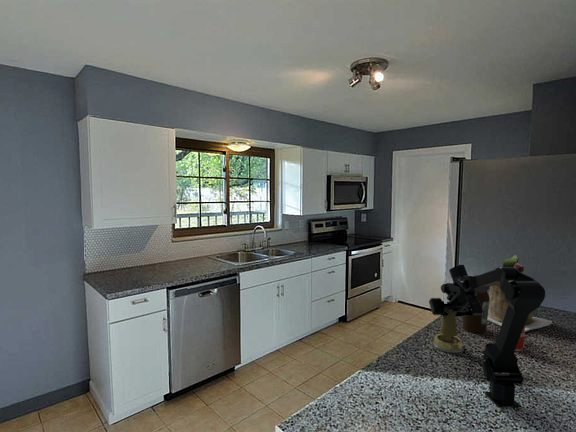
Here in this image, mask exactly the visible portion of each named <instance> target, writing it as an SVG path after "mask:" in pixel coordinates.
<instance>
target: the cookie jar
mask: <svg viewBox="0 0 576 432" xmlns="http://www.w3.org/2000/svg"><path fill="white" fill-rule="evenodd" d="M519 260H520V259H519V257H518V256H517V255H516V254H515V255H513V256H512V257H510V258H505V259H504V260H503V262H502V267H513V268H516V269H517V270H518V271H519V272H521V273H523V272H524V271H525V267H524V265H523V264H520V263H519ZM508 282H511V281H508ZM489 288H490V289H489V290H488V291H489V292H488V294H489V298H490V301H489V309H488V319H487V322H489V321H490V322H489V323H491V322H492V323H491V324H494V323H495V324H494V325H497V326H499V327H501V325H502V322H503V319H504V317H505V314H506V311H507V308H508V304H507V301H506V299H505V297H504V296H505V293H504V292H503V291H502V290H501V289H500V284H497V285H494V286H490V287H489ZM536 312H537V309H536V310H534V311H533V312H531V313H530V314H529V315H528V318H527V320H526V323H525V332H529V331H531V330H536V329H537V330H538V329H540V328H541V329H542V328H545V327H549V326H551V325H552V322H553V321H552V320H549V319H546V318H545V319H544V318H540V317H539V318H538V317H535V316H534V313H536Z"/></svg>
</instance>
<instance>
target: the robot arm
mask: <svg viewBox="0 0 576 432" xmlns="http://www.w3.org/2000/svg"><path fill="white" fill-rule="evenodd" d="M448 271H449V274H450V277H451V280H452V282H447V283H442V285H441V286H440V291H441V293H443V294H446V295H447V296H446V300H447V301H446V303H445V301H444V300H443V299H442V298H441V297H431V298H429V300H428V304H429V308H430V310H431V313H432V315H434V316H440V317H441V318H443V317H444V316H448V313H447V312H448V311H449V310H452V311H453V312H457V314H456V315H455V318H459V317H460V318H462V317H463V316H472V314H473V315H481V314H482V313H483V308H482V306H481V303H480V301H479V300H478V298H477V292H482V293H484V292H486V291H487V292H488V291H490V286H494V285H497V284H500V289H501V290H502V291H503V292H504V293H505V296H504V297H505V299H506V301H507V304H508V308H507V311H506V314H505V317H504V319H503V322H502V325H501V326H500V329H499V330H498V334H497V337H496V340H495V342H494V343H491V342H488V343H487V342H486V344H485V346H484V350H483V351H482V354H483V355H482V359H481V362H482V363H481V364H482V370H483V375H484V377H485V380H486V381H487V382H489V391H485V392H484V395H486V397H487V398H489V400H491V401H492V402H493V403H494V404H495V405H496V406H497V407H499V408H501V407H506V408H507V407H520V403H519V402H518V401H516V399H515V397H516V385H523V383H524V380H525V379H524V377H523V374H522V372H521V370H520V367H519V364H518V362H519V360H518V357H517V355H516V353H515V352H516V351H515V349H516V346H517V344H518V341H519V339H520V336H521V333H522V331H523V328H524V326H525V323H526V320H527V318H528V315H529V314H530V313H531V312H533V311H534V310H536V311H537V309H539V308H540V306H541V305H542V303H543V302H544V300H545V298H546V290H545V287H543V286H542V284H541V283H540V282H538V281H537V280H536V279H535V278H534V277H531V276H529V275H527V274H525V273H523V272H522V273H521V272H519V271H518V270H517V269H516V268H513V267H503V266H498V267H496V268H495V269H493V270H490V271H487V272H484V273H481V274H474V275H475V276H473V275H469V274H468V272H467V269H466V266H465V265H464V264H458V265H456V266H454V267H451V268H450V269H449V270H448ZM508 281H511V282H508ZM471 311H473V312H471Z"/></svg>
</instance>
